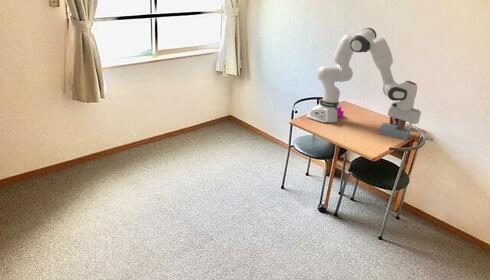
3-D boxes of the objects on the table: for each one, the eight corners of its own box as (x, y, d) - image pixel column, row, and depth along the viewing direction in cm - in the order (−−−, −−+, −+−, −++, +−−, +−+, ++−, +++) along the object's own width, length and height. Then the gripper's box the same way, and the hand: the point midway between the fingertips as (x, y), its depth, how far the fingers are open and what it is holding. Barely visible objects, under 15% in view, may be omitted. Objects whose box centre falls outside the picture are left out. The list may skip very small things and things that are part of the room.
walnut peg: (396, 133, 257) (399, 119, 254) (395, 131, 261) (398, 117, 257) (402, 134, 256) (406, 120, 253) (402, 132, 260) (405, 118, 257)
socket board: (378, 133, 258) (379, 127, 257) (382, 128, 270) (383, 122, 269) (407, 140, 251) (408, 134, 249) (409, 134, 262) (411, 128, 261)
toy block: (342, 117, 288) (344, 107, 285) (335, 117, 286) (336, 107, 283) (332, 110, 301) (333, 101, 298) (325, 111, 299) (326, 101, 296)
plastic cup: (405, 127, 274) (409, 111, 270) (393, 129, 270) (397, 112, 265) (394, 122, 283) (398, 107, 279) (382, 123, 279) (386, 107, 275)
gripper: (423, 109, 247) (418, 130, 252) (393, 101, 261) (389, 121, 266) (419, 111, 243) (414, 131, 248) (389, 102, 256) (384, 122, 261)
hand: (401, 126), depth 257 cm, fingers open, 8 cm apart
